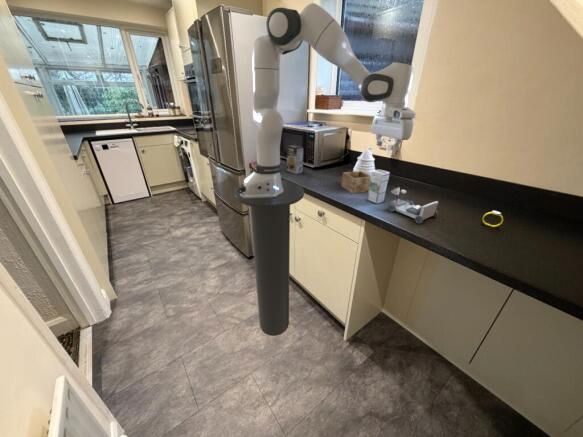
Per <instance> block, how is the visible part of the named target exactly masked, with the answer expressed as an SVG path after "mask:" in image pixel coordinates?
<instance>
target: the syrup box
mask: <svg viewBox="0 0 583 437" xmlns="http://www.w3.org/2000/svg"><path fill="white" fill-rule="evenodd" d="M390 173H391V172H390V171H387V170H383V169H379V168H377V169H375V170H374V171H372V174H371V180H370V186H369V191H367V198H366V200H367V201H368V202H371V203H373V204H376V205H377V204H381V203H383V202H384V201H385V197H386V191H387V187H388V183H389V178H390V175H391V174H390Z"/></svg>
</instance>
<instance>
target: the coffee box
mask: <svg viewBox="0 0 583 437" xmlns="http://www.w3.org/2000/svg"><path fill="white" fill-rule="evenodd" d="M303 166H304V147H303V146H300V145H296V144H290V145H289V144H288V145H286V172H289V173H292V174H294V175H297V174H301V173H303Z"/></svg>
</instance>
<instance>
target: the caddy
mask: <svg viewBox="0 0 583 437" xmlns="http://www.w3.org/2000/svg"><path fill="white" fill-rule="evenodd" d="M370 180H371V176H370V175H368V174H366V173H364V172H362V171H354V172H353V171H345V172H342V177H341V185H340V186H341V187H342V189H344V190H346V191H347V192H349V193H351V194H359V193H360V194H361V193H368V192H369V186H370Z"/></svg>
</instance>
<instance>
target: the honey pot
mask: <svg viewBox="0 0 583 437" xmlns="http://www.w3.org/2000/svg"><path fill="white" fill-rule="evenodd" d="M372 150H373V146H367V149H366V150H363V152H362V153H361V154H360V155H359V156H357V161H356V163H355V165H354V167H353V170H352V172H354V171H362V172H364V173H366V174H368V175H370V176H371V174H372V171H374V170H376V166H375V165H376V164H375V160H376V158H375V157H374V155H373V153H372V152H371V151H372Z"/></svg>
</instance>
